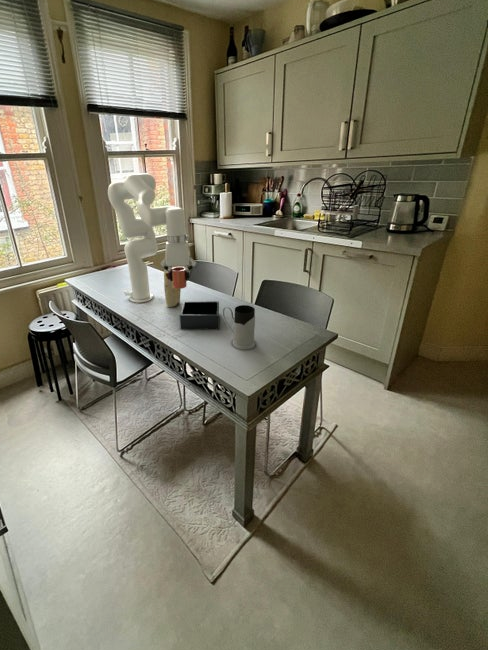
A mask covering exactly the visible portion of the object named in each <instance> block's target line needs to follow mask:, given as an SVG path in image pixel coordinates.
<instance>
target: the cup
mask: <svg viewBox="0 0 488 650" xmlns="http://www.w3.org/2000/svg"><path fill="white" fill-rule="evenodd" d="M174 267H175V268H173V267H172V269H171V270H172V283H173V288H176V289H181V290H182V289H186V288H187V284H188V283H187V281H186V277H185V272H186V269H185V267H184V266H174Z"/></svg>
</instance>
